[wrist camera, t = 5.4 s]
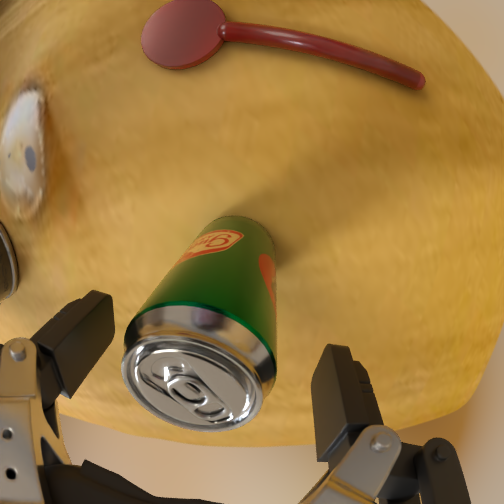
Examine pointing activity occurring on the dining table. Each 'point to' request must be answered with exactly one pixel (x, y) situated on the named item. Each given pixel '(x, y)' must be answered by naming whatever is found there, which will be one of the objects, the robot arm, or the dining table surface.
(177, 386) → the soda can
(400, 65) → the spoon
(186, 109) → the dining table surface
